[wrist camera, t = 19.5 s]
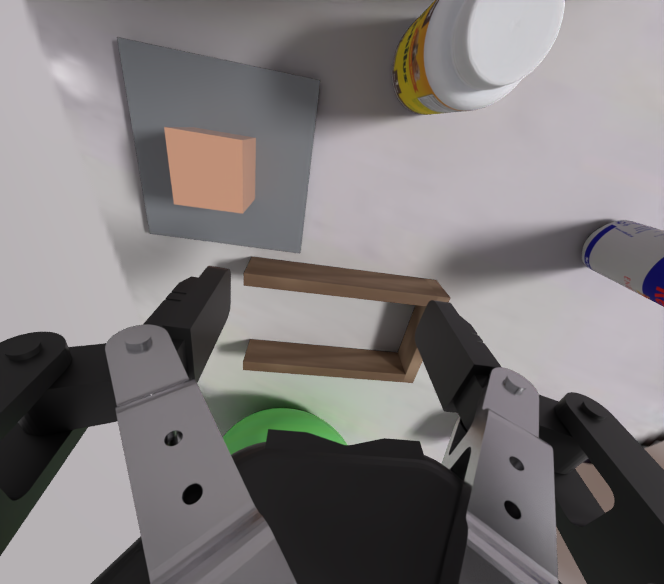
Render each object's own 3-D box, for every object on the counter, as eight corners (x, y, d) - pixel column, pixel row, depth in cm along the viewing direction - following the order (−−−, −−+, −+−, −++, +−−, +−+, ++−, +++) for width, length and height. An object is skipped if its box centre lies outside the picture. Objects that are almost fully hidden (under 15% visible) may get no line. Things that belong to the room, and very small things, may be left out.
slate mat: (124, 40, 18) (116, 36, 18) (320, 81, 20) (320, 80, 19) (154, 230, 25) (149, 233, 24) (300, 250, 26) (300, 253, 26)
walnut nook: (251, 256, 26) (243, 273, 23) (436, 280, 29) (450, 297, 26) (249, 347, 32) (242, 369, 29) (404, 360, 34) (412, 382, 31)
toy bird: (206, 432, 40) (155, 574, 27) (264, 359, 33) (232, 501, 21) (311, 466, 46) (310, 596, 33) (377, 410, 39) (407, 545, 27)
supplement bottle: (413, -1, 18) (506, -124, 9) (482, 41, 19) (622, -31, 11) (376, 96, 21) (421, 73, 12) (439, 128, 22) (523, 128, 13)
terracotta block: (192, 127, 20) (164, 127, 16) (255, 137, 21) (242, 140, 17) (198, 191, 23) (173, 204, 19) (254, 199, 23) (242, 213, 19)
